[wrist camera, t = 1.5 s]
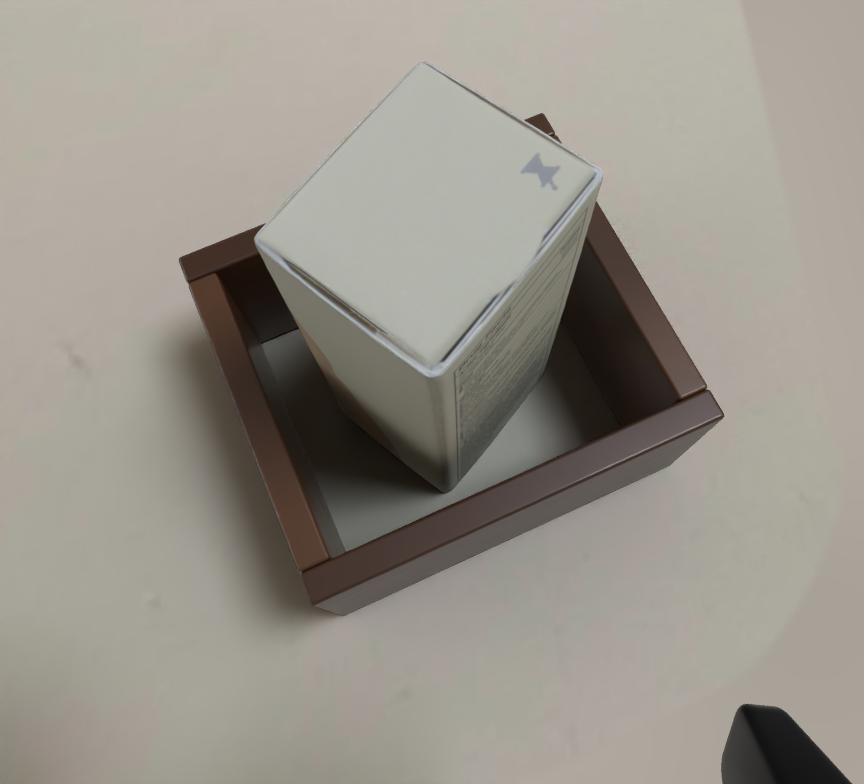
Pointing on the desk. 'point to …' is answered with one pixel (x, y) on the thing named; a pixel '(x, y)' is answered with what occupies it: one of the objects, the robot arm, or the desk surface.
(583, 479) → the holder
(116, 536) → the desk surface
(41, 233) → the desk surface
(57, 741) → the desk surface
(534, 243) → the box
